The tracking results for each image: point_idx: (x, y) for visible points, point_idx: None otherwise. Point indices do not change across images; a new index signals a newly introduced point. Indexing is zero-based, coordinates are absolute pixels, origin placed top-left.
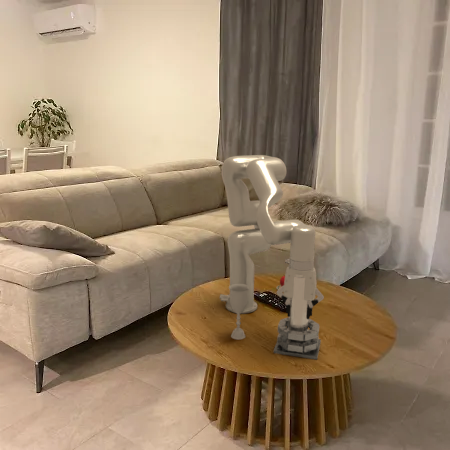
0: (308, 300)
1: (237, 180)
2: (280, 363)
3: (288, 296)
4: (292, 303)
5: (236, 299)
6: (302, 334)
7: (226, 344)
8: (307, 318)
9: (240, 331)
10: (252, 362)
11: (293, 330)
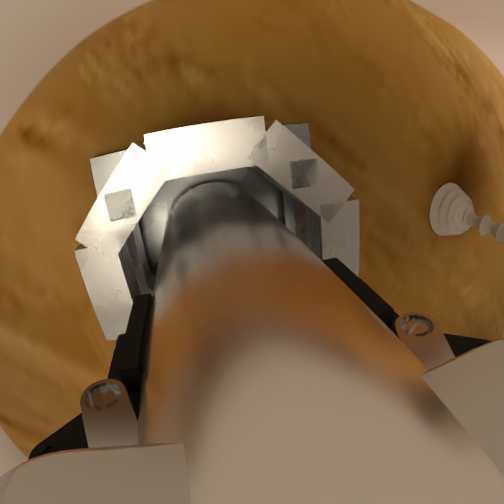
0: (93, 448)
1: None
2: (245, 47)
3: (500, 358)
4: (372, 316)
5: None
6: (154, 141)
7: (464, 134)
8: (148, 295)
9: (458, 209)
10: (355, 25)
11: (244, 201)
